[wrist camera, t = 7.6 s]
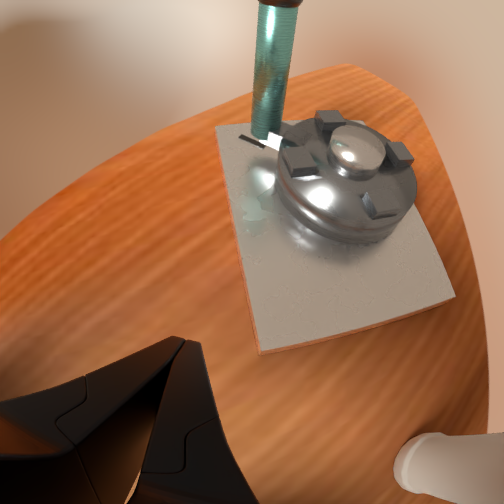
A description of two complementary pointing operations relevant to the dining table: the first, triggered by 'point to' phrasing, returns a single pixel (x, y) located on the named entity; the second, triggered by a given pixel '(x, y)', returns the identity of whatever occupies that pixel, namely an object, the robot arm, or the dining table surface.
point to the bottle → (453, 467)
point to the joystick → (325, 149)
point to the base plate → (318, 260)
